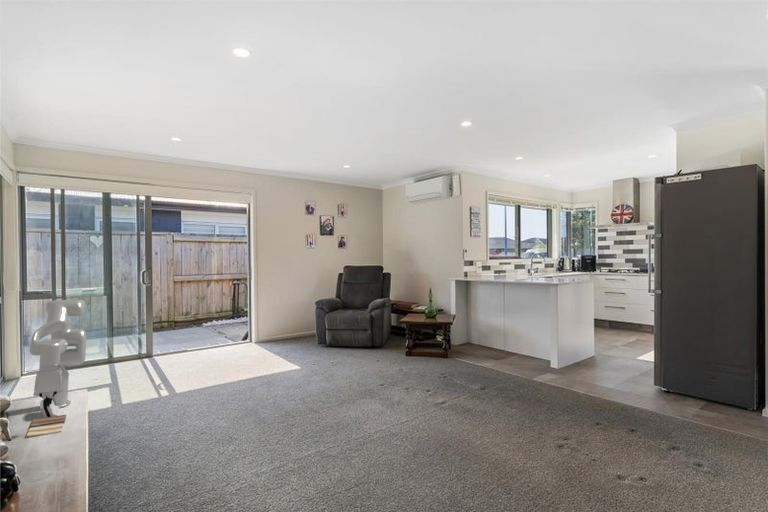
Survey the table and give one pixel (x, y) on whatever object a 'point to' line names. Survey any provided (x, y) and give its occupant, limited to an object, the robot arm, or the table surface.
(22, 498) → the table surface
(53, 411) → the white curved device
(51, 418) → the walnut board
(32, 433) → the oak plank
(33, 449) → the table surface
